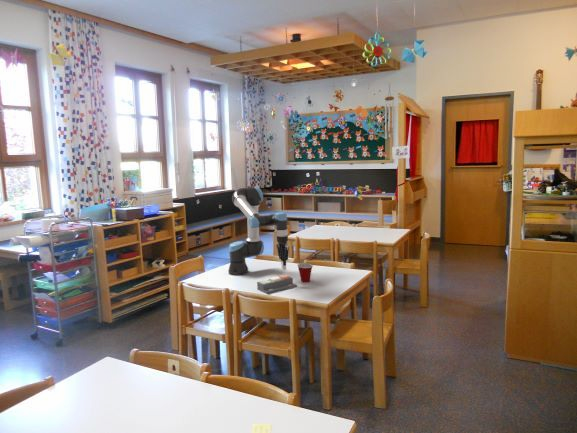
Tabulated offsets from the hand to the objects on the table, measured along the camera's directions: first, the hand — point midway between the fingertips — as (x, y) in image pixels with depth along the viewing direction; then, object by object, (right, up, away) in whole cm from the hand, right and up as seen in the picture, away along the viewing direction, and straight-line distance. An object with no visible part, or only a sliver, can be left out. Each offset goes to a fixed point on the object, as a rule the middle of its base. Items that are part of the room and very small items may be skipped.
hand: (284, 269), depth 297 cm
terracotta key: (0, -7, +1) cm, 7 cm away
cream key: (-6, -8, -3) cm, 10 cm away
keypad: (-5, -12, -4) cm, 13 cm away
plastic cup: (+15, -9, +8) cm, 19 cm away
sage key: (-12, -10, -7) cm, 17 cm away
